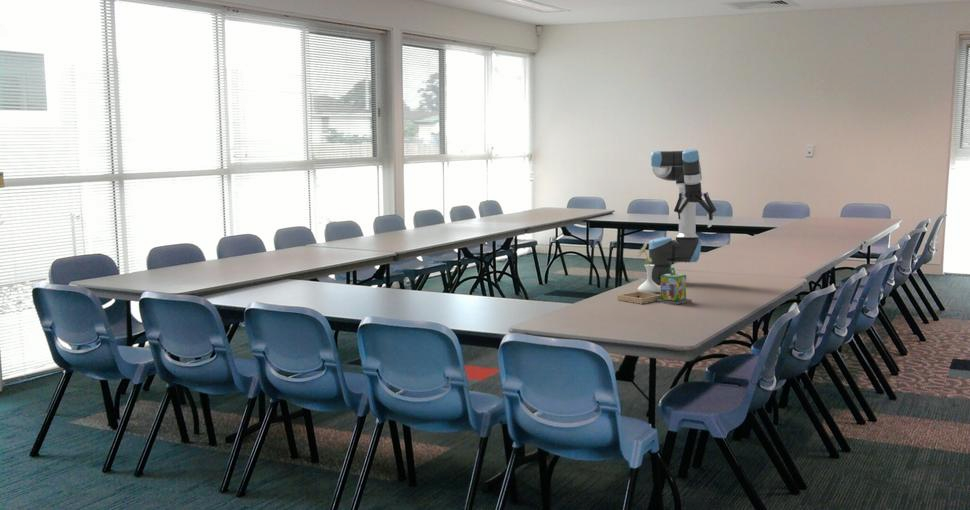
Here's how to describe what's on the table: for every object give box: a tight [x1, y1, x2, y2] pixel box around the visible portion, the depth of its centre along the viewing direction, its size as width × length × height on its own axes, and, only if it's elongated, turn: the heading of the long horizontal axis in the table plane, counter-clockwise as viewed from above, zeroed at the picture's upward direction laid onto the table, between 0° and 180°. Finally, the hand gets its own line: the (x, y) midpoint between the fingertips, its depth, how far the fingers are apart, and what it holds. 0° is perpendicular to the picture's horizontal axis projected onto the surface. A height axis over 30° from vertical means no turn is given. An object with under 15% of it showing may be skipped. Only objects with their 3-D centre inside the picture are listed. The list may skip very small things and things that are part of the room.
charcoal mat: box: [655, 298, 692, 305], centre depth 427 cm, size 12×12×1 cm
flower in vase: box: [637, 242, 661, 294], centre depth 450 cm, size 13×11×25 cm
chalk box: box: [660, 266, 687, 301], centre depth 426 cm, size 9×9×15 cm
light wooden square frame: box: [616, 290, 661, 305], centre depth 432 cm, size 15×15×2 cm
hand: (696, 226), depth 438 cm, fingers open, 13 cm apart
